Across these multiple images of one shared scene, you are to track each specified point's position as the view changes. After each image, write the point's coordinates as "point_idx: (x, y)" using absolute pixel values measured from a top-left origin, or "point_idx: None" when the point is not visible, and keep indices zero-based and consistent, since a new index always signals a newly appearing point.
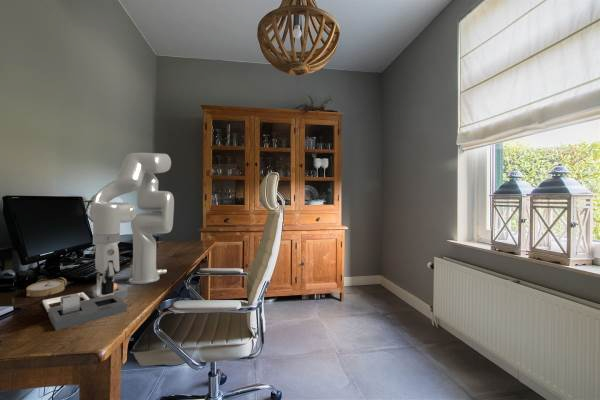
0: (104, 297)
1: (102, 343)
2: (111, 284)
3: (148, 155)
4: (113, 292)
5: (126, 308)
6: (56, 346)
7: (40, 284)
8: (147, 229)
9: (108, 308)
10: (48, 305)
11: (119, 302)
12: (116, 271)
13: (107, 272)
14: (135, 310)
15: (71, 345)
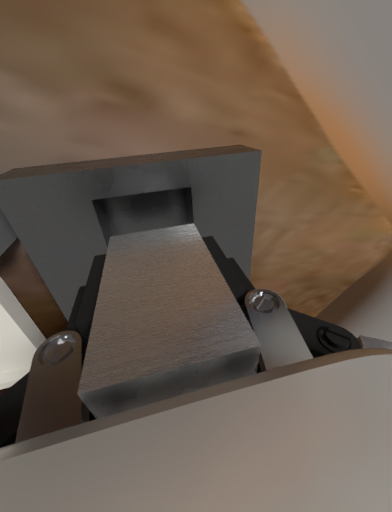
0: (51, 238)
1: (379, 239)
2: (251, 284)
3: None
4: (195, 231)
5: (249, 148)
6: (305, 306)
7: None
8: None
9: (251, 231)
10: (8, 382)
11: (207, 179)
12: (301, 361)
13: (96, 413)
14: (241, 95)
15: (327, 287)
